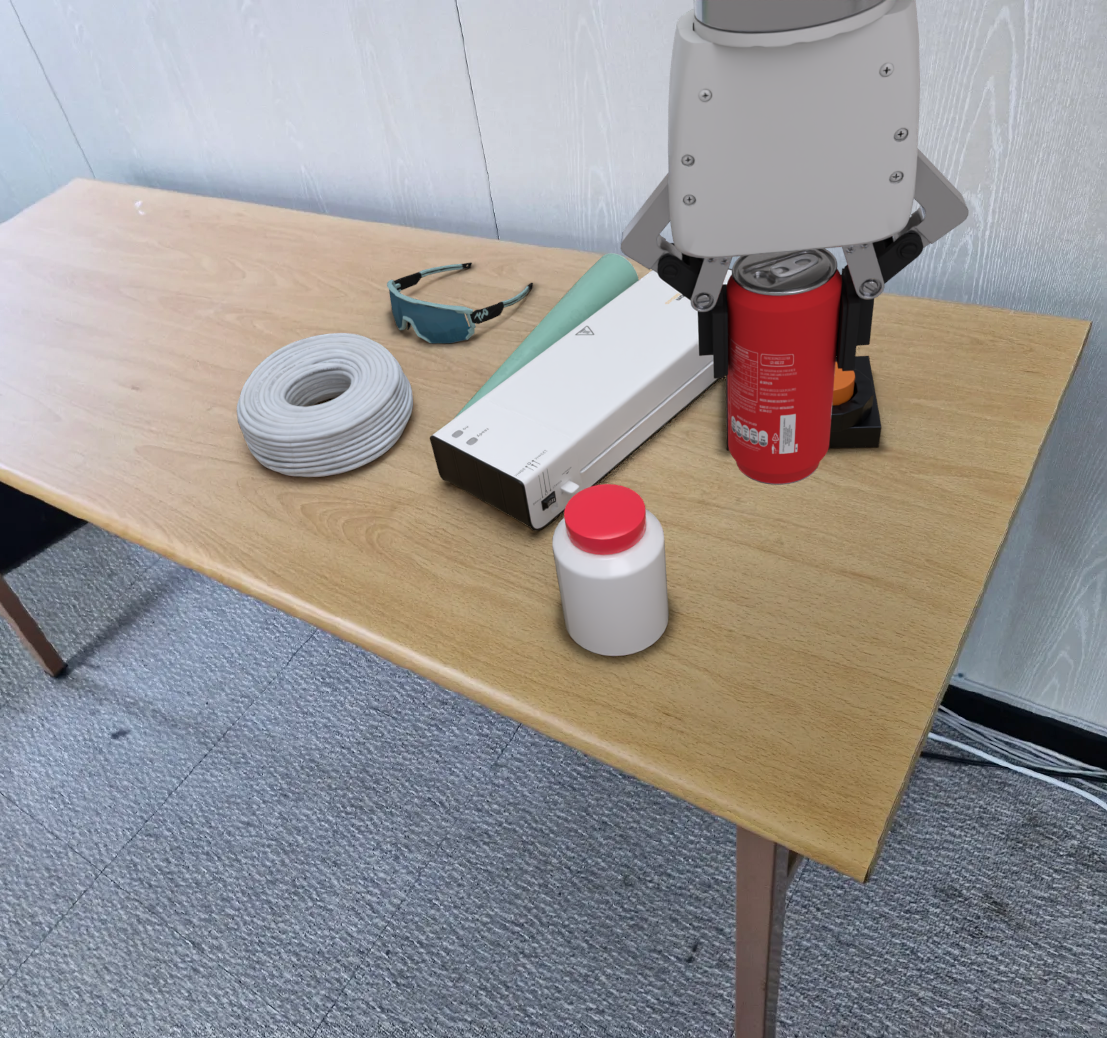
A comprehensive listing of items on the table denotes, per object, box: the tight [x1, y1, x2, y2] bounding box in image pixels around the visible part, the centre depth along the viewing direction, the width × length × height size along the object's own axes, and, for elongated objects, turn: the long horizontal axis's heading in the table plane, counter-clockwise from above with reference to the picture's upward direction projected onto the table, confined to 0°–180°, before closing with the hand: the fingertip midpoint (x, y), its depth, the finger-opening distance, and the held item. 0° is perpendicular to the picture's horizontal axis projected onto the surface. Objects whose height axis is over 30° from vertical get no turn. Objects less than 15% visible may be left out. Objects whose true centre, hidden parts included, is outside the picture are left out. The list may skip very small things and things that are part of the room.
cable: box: [236, 332, 414, 478], centre depth 97 cm, size 18×18×6 cm
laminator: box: [429, 268, 732, 532], centre depth 89 cm, size 34×12×6 cm, turn 132°
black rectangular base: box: [725, 355, 882, 451], centre depth 84 cm, size 12×10×4 cm
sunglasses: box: [386, 262, 534, 344], centre depth 110 cm, size 14×15×5 cm
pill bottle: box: [551, 483, 670, 657], centre depth 70 cm, size 8×8×11 cm
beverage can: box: [727, 248, 842, 486], centre depth 50 cm, size 5×5×12 cm
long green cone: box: [454, 252, 640, 418], centre depth 97 cm, size 5×6×27 cm
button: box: [832, 362, 855, 406], centre depth 81 cm, size 4×4×2 cm
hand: (780, 356), depth 50 cm, fingers closed on beverage can, 5 cm apart
